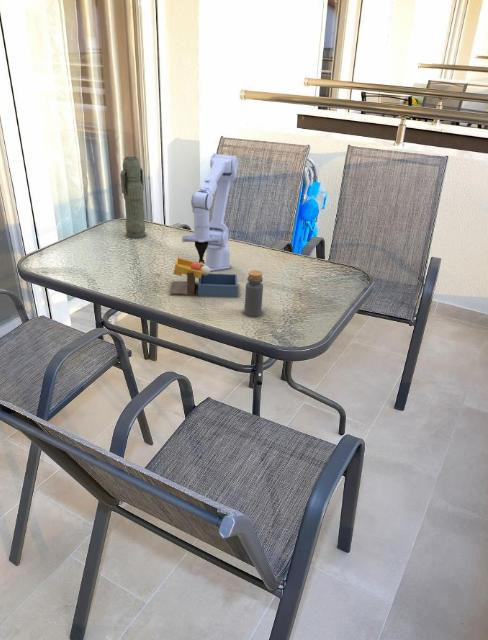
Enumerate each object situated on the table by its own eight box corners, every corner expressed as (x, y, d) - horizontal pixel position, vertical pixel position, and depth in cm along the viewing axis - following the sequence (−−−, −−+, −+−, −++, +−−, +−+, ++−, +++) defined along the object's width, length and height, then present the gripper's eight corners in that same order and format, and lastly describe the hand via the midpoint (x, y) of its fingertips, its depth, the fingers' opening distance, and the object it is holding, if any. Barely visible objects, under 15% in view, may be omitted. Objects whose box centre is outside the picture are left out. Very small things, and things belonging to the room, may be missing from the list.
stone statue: (120, 236, 239) (113, 158, 220) (137, 230, 247) (132, 154, 229) (134, 240, 235) (129, 161, 216) (151, 234, 243) (147, 157, 225)
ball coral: (193, 260, 187) (194, 269, 189) (188, 263, 184) (189, 272, 186) (201, 261, 186) (202, 270, 188) (197, 264, 183) (198, 273, 185)
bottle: (243, 309, 178) (245, 269, 170) (259, 309, 179) (263, 269, 171) (245, 316, 173) (247, 276, 165) (262, 316, 174) (265, 276, 166)
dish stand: (171, 295, 186) (170, 272, 181) (173, 282, 195) (173, 261, 191) (193, 295, 186) (193, 273, 181) (195, 283, 196) (195, 262, 191)
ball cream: (202, 264, 188) (204, 273, 190) (197, 268, 185) (200, 277, 187) (210, 264, 186) (212, 273, 188) (206, 268, 184) (208, 277, 186)
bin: (198, 296, 186) (198, 284, 184) (199, 283, 196) (199, 272, 193) (237, 297, 187) (237, 286, 184) (236, 284, 196) (236, 274, 194)
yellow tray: (173, 274, 183) (175, 264, 181) (176, 259, 196) (178, 250, 194) (201, 281, 185) (203, 271, 183) (202, 267, 197) (205, 257, 195)
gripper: (181, 228, 184) (181, 263, 191) (221, 229, 184) (220, 264, 191) (182, 222, 190) (183, 256, 197) (221, 223, 190) (220, 258, 197)
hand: (201, 260), depth 195 cm, fingers closed, pressing on yellow tray
